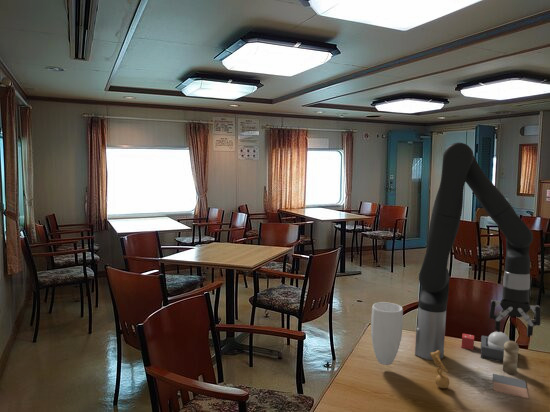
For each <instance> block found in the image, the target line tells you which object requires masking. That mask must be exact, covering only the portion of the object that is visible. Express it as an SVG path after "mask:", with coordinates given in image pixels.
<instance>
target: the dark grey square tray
mask: <svg viewBox="0 0 550 412" xmlns="http://www.w3.org/2000/svg"><path fill="white" fill-rule="evenodd" d="M488 337H489V335H488V336H487V335H481V337H480V358H482V359H485V360H486V359H487V360H492V361H497V362H501V363H503V358H504V349H500V348H494V347H489V346H488ZM513 341H514V340H513ZM514 342H515V343H516V341H514Z"/></svg>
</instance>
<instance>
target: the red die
mask: <svg viewBox="0 0 550 412" xmlns="http://www.w3.org/2000/svg"><path fill="white" fill-rule="evenodd" d="M461 335H462V336H461V346H460V347H461V348H462V349H467V350H471V351H474V348H475V347H474V346H475V344H474V343H475V335H473V334H469V333H468V334H467V333H462V334H461Z"/></svg>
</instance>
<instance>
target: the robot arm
mask: <svg viewBox="0 0 550 412" xmlns="http://www.w3.org/2000/svg"><path fill="white" fill-rule="evenodd" d="M440 175H441V177H440V183H439V187H438V190H437V193H436V197H435V199H434V204H433V207H432V211H431V216H430V219H429V220H430V221H429V227H428V234H427V235H428V236H427V243H426V251H425V255H424V259H423V261H422V265H421V268H420V271H419V273H418V281H419V282H418V283H419V284H420V294H419V299H418V308H417V309H418V311H417V327H416V329H415V331H416V332H415V347H414V355H415V356H418V357H420V358H422V359H424V360H430V361H434V360H433V359H432V358H431V355H430V353H431V352H436V351H437V350H440V355H439V356H440V360H442V359H444V355H445V354H444V352H445V350H444V349H445V336H446V335H445V334H446V320H447V307H448V300H449V292H450V291H449V289H450V271H449V270H448V263H449V257H450V253H451V251H452V248H453V246H454V243H455V240H456V237H457V236H458V235H457V234H458V232H459V228H460V223H461V219H462V213H463V206H464V205H463V204H464V190H465V189H464V188H465V183H466V184H467V186H468V187H469V189H470V190H471V191H472V194H474V196H475V198H476V199H477V200H478V202H479V204H480V205H481V207H482V208H483V209H484V211H485V212H486V213H487V214H488V216H489V217H490V218H491V220H492V221H493V222H494V223H495V224H496V225H497V227H498V228H499V230H500V231H501V232H502V234H503V235H504V237H505V252H506V254H505V260H504V261H505V262H504V273H503V279H502V296H501V301H500V300H496V299H494V298H492V299H491V301H490V309H489V319H492V320H494V329H495V331H496V332H501V320H503V318H505V317H507V315H508V316H509V317H516V318H521V317H523V319H524V320H525V321H526V323H527V326H526V327H527V329H526V337H527V338H531V336H532V337H533V335H534V334H533V331H534V326H541V307H540V305H539V304H536V305H530V292H531V291H530V290H531V257H530V248H531V247H530V246H531V244H532V243H533V240H534V235H533V232H532V230H531V229H530V228H529V227H528V225H527V224H526V223H525V222H524V221H523V220H522V218H520V216H519V215H518V214H517V213H516V211H515V209H514V207H513V206H512V205H511V203H510V202H509V201H508V199H507V198H506V197H505V196H504V194H503V193H502V192H501V191H500V190H499V189H498V188H497V186H496V185H495V184H494V183H493V182H492V181H491V180H490V179H489V178H488V176H487V175H486V174H485V172H484V171H483V169H482V168H481V166H480V165H479V163H478V161H477V159H476V157H475V156H474V152H473V150H472V148H471V147H470V146H469V145H468V144H467V143H464V142H454V143H451V144H450V145H448V146H447V147H446V148H445V149H444V151H443V154H442V165H441V174H440ZM499 306H500V307H501V308H502V309H501V310H500V312H498V314H495V313H496V312H495V310H496V308H498V307H499ZM530 310H532V313H534V320H533V319H531V318H530V316H529V314H528V312H529V311H530Z"/></svg>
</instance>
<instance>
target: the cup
mask: <svg viewBox="0 0 550 412" xmlns="http://www.w3.org/2000/svg"><path fill="white" fill-rule="evenodd" d="M403 316H404V308H403V307H402V305H400V304H397V303H393V302H387V301H380V302H379V301H378V302H375V303H373V304H372V307H371V317H370V330H371V331H370V333H371V334H370V336H371V342H372V347H373V351H374V355H375V358H376V360H377V362H378V363H379V364H381V365H383V366H390V365H392V364H393V362H394V361H395V359H396V357H397V354H398V352H399V349H400V346H401V341H402V335H403V325H404V321H403V319H404V317H403Z"/></svg>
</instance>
